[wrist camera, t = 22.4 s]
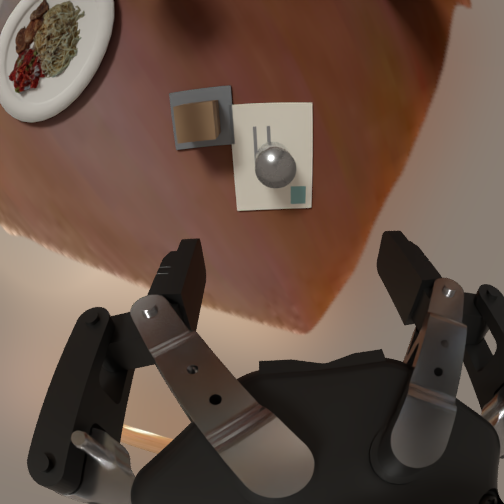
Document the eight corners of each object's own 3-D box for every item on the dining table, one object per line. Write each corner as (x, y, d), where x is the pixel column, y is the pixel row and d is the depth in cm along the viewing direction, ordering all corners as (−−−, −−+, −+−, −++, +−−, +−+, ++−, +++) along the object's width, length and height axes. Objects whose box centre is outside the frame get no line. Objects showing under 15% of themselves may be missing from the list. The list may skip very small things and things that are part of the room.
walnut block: (217, 99, 36) (212, 101, 31) (220, 132, 38) (215, 139, 33) (183, 103, 36) (173, 106, 31) (187, 135, 39) (177, 143, 34)
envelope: (311, 102, 36) (312, 102, 36) (310, 206, 45) (311, 207, 45) (228, 105, 37) (228, 105, 36) (237, 209, 46) (237, 210, 46)
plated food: (149, -27, 23) (142, -33, 20) (84, 136, 38) (74, 140, 35) (30, -23, 16) (20, -25, 14) (-12, 108, 31) (-23, 112, 28)
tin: (290, 140, 39) (296, 148, 34) (291, 174, 42) (296, 187, 37) (253, 141, 39) (253, 150, 34) (255, 175, 42) (256, 189, 37)
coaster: (230, 85, 35) (230, 85, 35) (235, 143, 40) (235, 144, 40) (169, 93, 35) (169, 93, 35) (176, 149, 40) (176, 149, 40)
